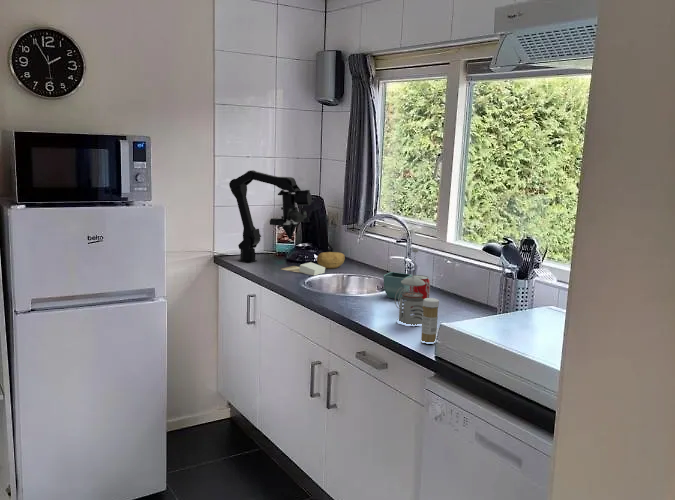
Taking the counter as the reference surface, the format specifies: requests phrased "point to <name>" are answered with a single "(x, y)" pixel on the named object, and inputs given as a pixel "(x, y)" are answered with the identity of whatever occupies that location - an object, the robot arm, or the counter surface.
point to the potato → (330, 259)
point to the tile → (311, 269)
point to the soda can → (422, 287)
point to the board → (292, 269)
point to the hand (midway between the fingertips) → (290, 239)
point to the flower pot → (395, 284)
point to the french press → (411, 301)
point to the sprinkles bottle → (429, 319)
